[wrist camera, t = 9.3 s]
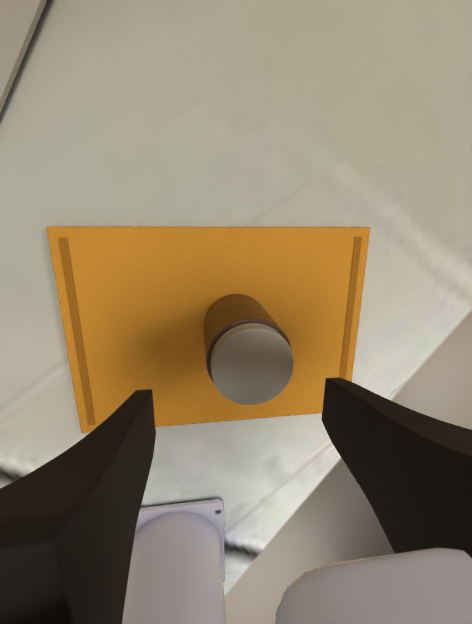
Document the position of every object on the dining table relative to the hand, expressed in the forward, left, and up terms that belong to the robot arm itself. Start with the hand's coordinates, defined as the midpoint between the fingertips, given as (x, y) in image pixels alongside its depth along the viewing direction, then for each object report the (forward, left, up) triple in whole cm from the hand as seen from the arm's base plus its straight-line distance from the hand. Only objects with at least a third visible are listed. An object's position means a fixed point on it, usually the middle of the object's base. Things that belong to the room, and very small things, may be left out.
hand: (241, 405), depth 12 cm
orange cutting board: (0, 0, -9) cm, 9 cm away
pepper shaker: (+1, -1, -9) cm, 9 cm away
